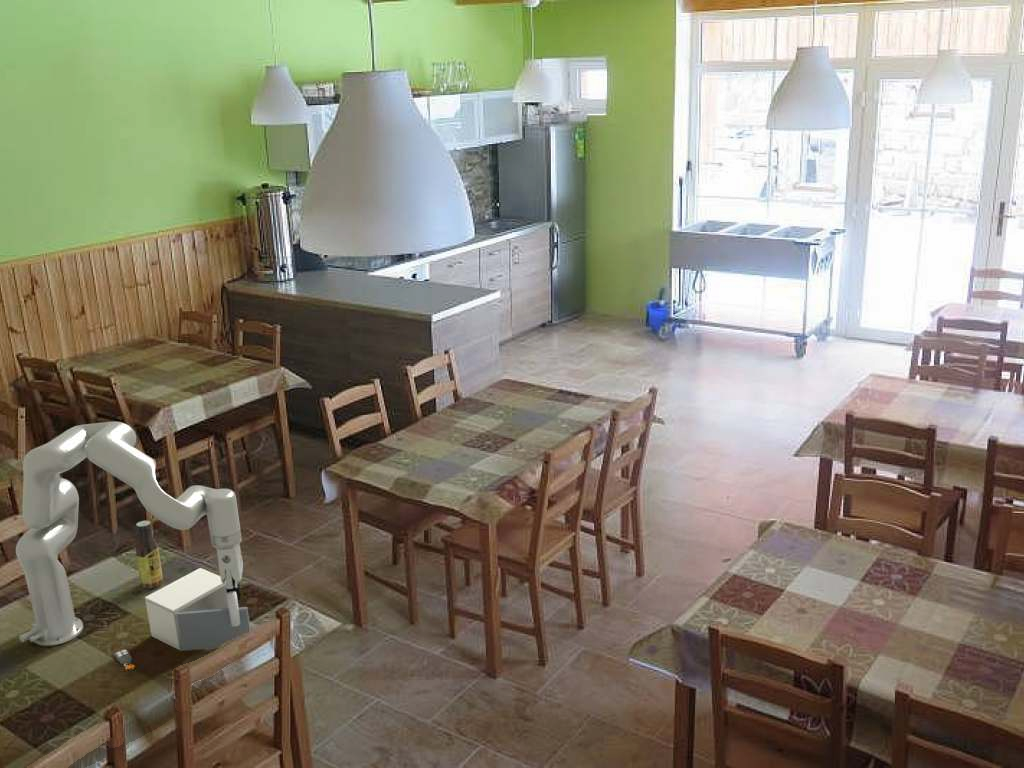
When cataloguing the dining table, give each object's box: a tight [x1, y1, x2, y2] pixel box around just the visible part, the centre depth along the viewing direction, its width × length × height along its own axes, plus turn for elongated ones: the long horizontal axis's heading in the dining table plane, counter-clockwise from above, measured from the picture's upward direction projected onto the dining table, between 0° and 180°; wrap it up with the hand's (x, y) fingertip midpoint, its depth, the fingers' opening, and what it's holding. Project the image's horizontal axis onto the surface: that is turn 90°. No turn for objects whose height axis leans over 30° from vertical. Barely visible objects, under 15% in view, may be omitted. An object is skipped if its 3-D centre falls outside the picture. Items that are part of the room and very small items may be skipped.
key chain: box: [113, 648, 136, 671], centre depth 247 cm, size 13×4×2 cm, turn 38°
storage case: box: [144, 567, 229, 651], centre depth 261 cm, size 18×12×12 cm, turn 145°
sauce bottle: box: [135, 520, 164, 590], centre depth 282 cm, size 6×6×20 cm
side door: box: [174, 591, 251, 652], centre depth 249 cm, size 19×4×16 cm, turn 96°
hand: (234, 598), depth 251 cm, fingers closed
